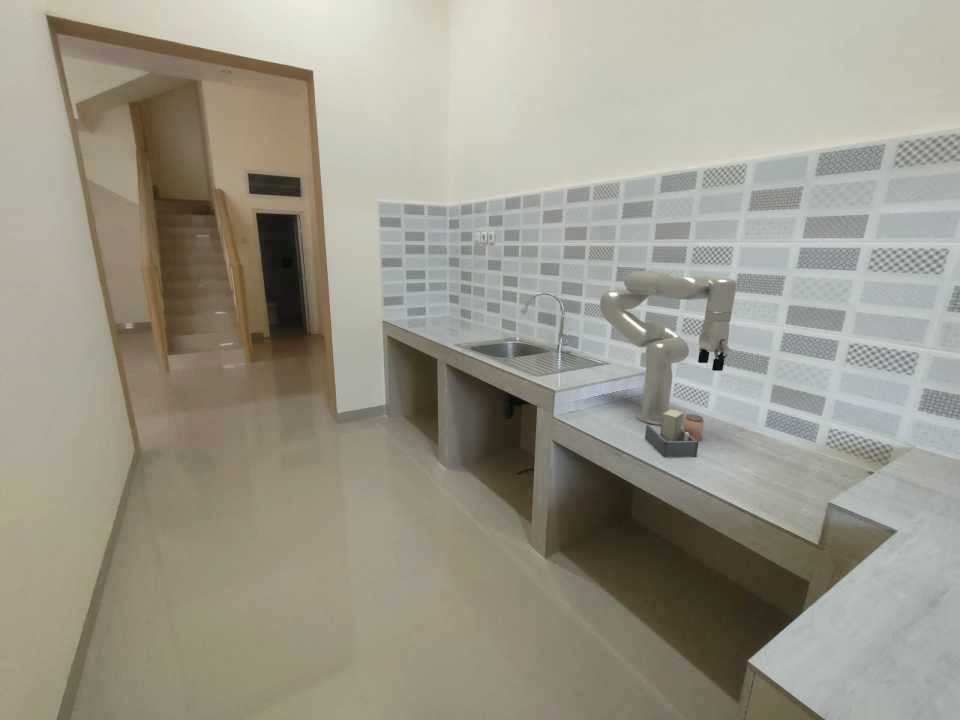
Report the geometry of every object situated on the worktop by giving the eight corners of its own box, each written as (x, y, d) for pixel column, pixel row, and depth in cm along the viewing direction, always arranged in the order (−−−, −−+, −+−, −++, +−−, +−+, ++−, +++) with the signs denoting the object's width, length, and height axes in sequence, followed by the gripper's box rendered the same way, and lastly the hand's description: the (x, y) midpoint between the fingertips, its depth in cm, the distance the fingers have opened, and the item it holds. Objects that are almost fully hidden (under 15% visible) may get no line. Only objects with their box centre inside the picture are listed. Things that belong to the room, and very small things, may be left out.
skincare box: (666, 441, 144) (670, 408, 141) (679, 445, 141) (684, 412, 138) (658, 446, 140) (662, 413, 137) (671, 451, 137) (676, 416, 134)
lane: (644, 438, 147) (646, 424, 145) (674, 437, 147) (676, 424, 146) (663, 456, 133) (665, 442, 132) (696, 456, 134) (698, 442, 132)
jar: (679, 434, 150) (681, 414, 148) (695, 434, 150) (698, 413, 148) (687, 441, 144) (690, 420, 142) (704, 441, 145) (707, 420, 143)
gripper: (694, 312, 146) (687, 359, 150) (720, 320, 129) (711, 373, 134) (715, 313, 146) (708, 360, 150) (744, 321, 129) (735, 374, 133)
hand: (709, 366), depth 142 cm, fingers open, 9 cm apart
